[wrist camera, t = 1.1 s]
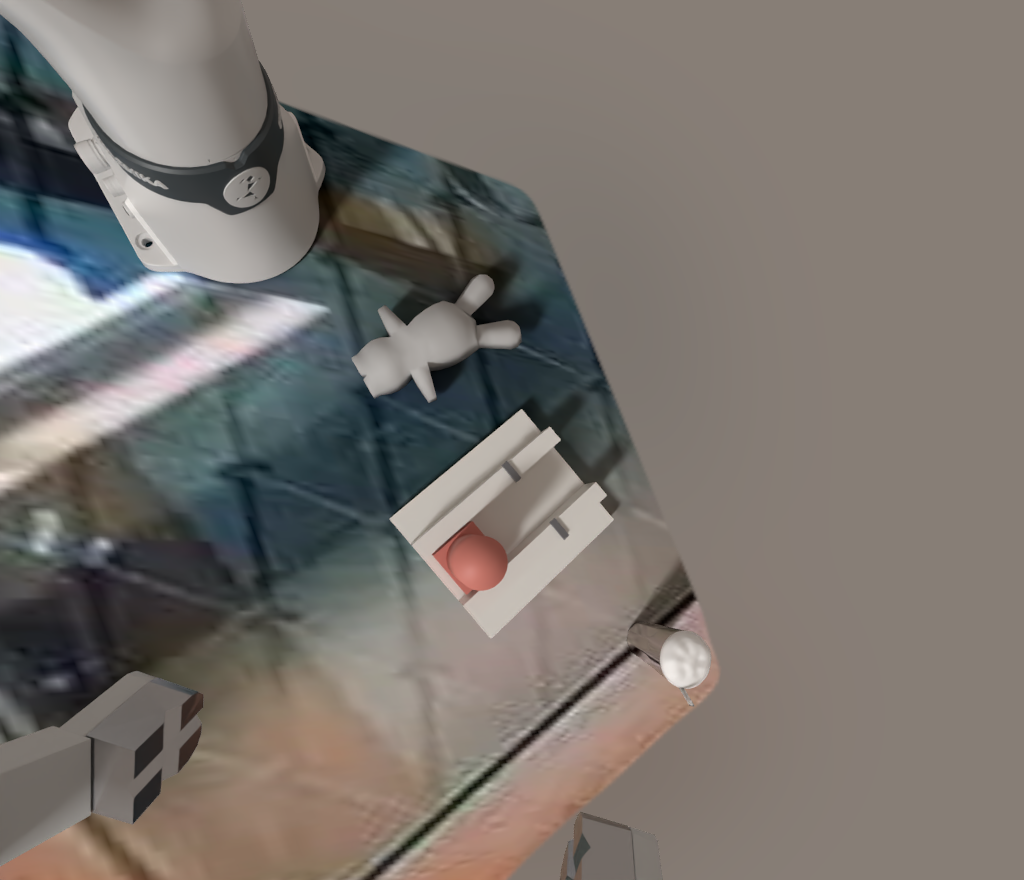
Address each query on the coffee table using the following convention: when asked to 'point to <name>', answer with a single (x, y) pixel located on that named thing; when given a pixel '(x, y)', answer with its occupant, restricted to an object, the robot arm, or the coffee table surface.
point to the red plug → (473, 559)
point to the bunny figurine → (432, 342)
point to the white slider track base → (508, 515)
